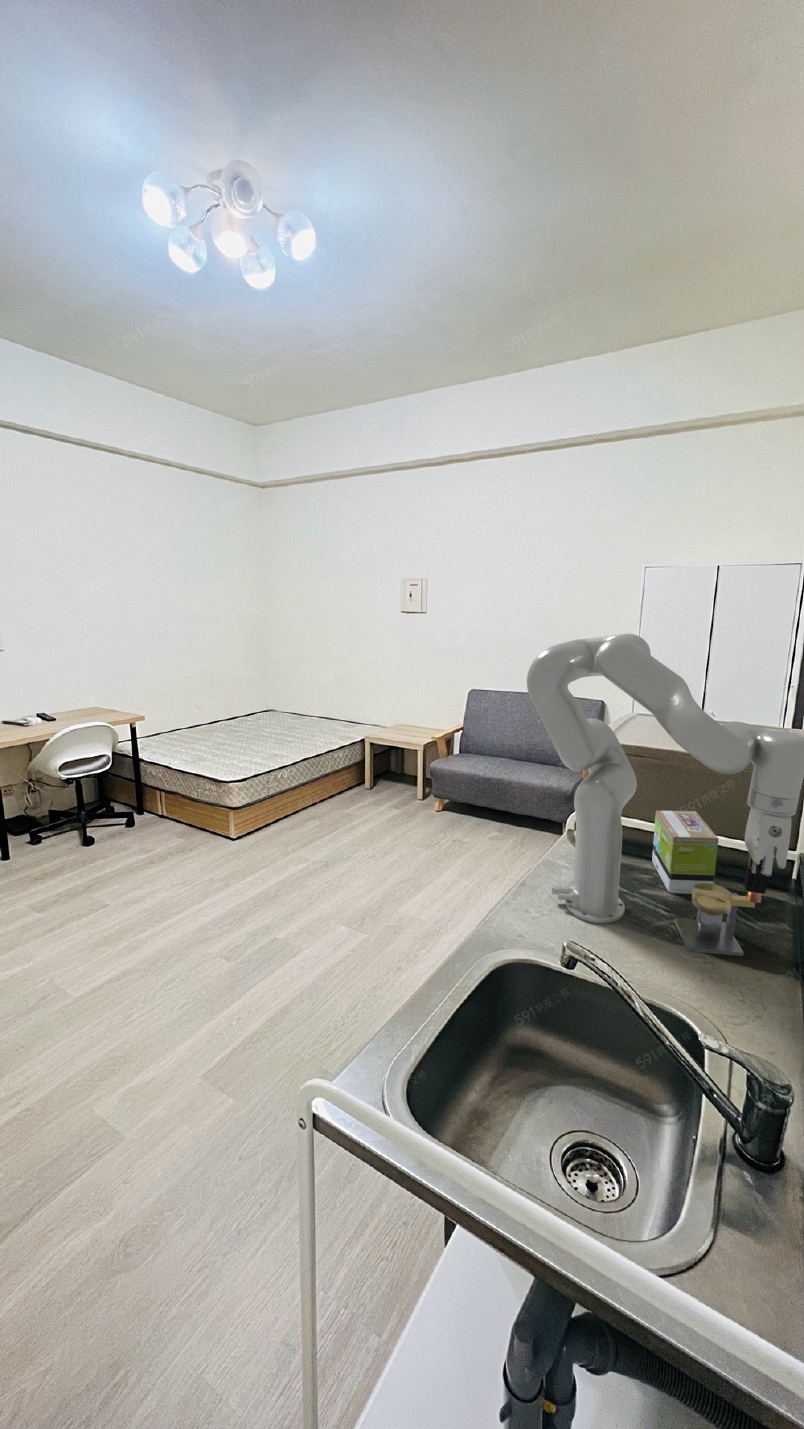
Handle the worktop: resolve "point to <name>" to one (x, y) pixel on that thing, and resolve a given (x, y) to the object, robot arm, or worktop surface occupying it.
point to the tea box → (683, 850)
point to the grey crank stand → (710, 933)
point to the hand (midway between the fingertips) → (754, 890)
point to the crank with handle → (720, 899)
